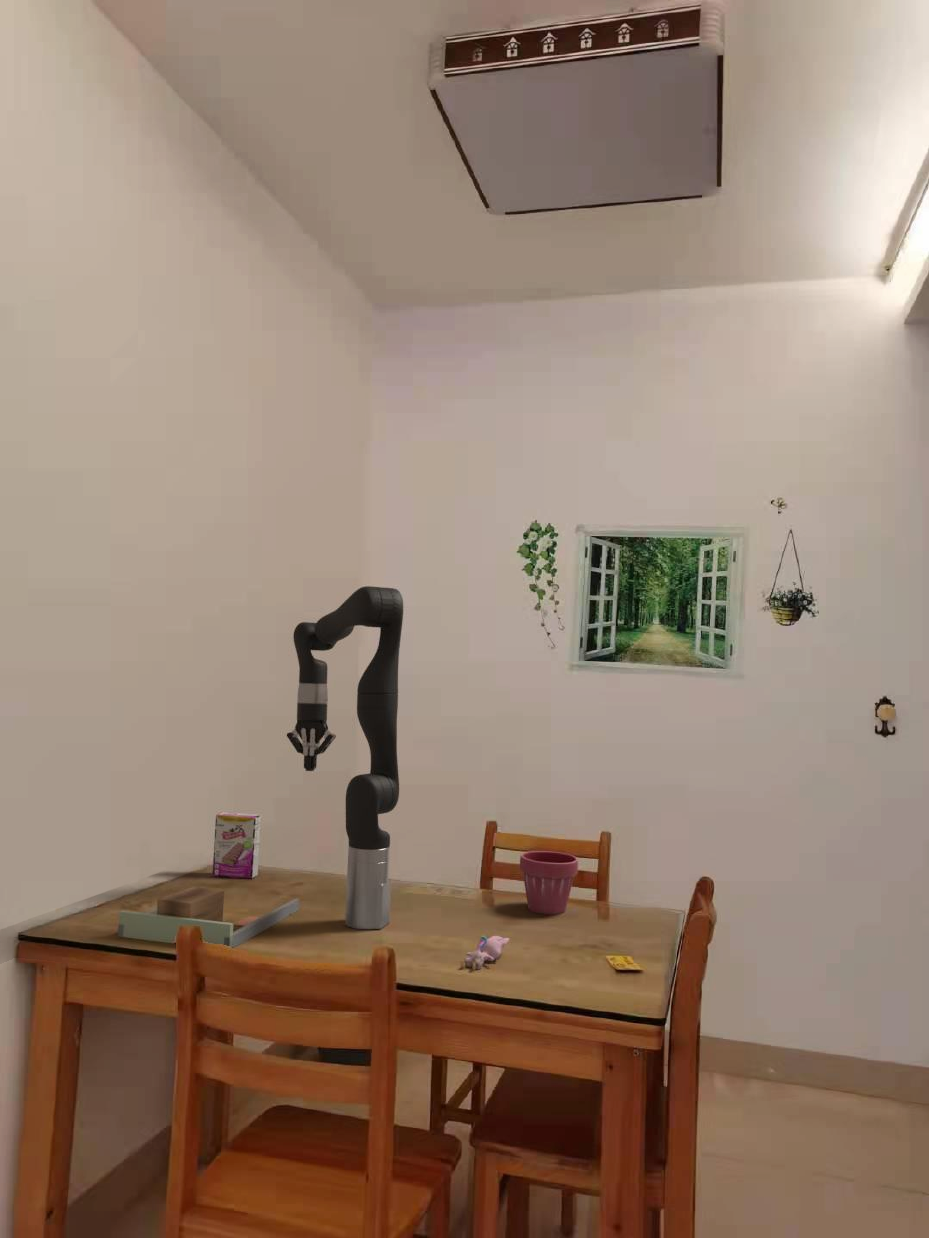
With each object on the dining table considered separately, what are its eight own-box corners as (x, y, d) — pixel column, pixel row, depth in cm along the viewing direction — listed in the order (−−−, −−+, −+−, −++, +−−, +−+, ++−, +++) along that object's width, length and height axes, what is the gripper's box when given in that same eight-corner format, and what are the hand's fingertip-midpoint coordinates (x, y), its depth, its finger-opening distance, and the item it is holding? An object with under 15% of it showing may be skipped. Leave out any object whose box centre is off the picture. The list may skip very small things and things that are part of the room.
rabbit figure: (482, 980, 178) (519, 949, 191) (480, 950, 178) (517, 921, 190) (454, 974, 182) (492, 943, 194) (452, 944, 181) (491, 915, 194)
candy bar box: (211, 877, 248) (214, 814, 249) (218, 873, 253) (221, 811, 254) (252, 879, 247) (255, 816, 248) (258, 875, 252) (261, 813, 252)
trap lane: (298, 910, 218) (299, 888, 218) (229, 950, 186) (230, 924, 187) (201, 899, 224) (202, 878, 225) (117, 936, 193) (119, 911, 193)
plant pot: (586, 915, 223) (588, 861, 224) (532, 918, 219) (534, 863, 219) (560, 900, 237) (562, 849, 238) (509, 903, 232) (511, 851, 233)
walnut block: (222, 928, 202) (224, 890, 202) (188, 943, 190) (190, 903, 191) (190, 923, 204) (192, 886, 205) (155, 938, 193) (157, 898, 193)
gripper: (281, 701, 235) (279, 770, 234) (330, 702, 232) (328, 773, 230) (294, 700, 242) (292, 768, 241) (342, 702, 239) (340, 770, 238)
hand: (310, 770), depth 236 cm, fingers closed
